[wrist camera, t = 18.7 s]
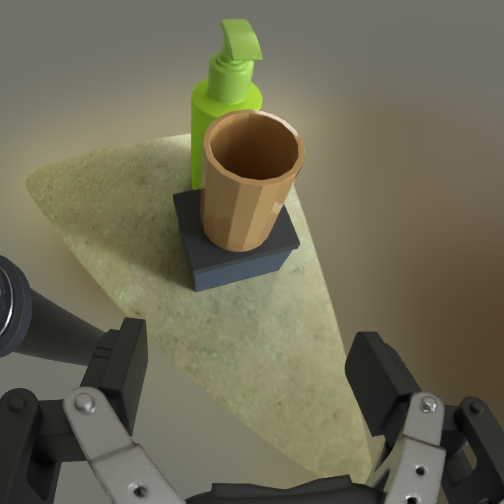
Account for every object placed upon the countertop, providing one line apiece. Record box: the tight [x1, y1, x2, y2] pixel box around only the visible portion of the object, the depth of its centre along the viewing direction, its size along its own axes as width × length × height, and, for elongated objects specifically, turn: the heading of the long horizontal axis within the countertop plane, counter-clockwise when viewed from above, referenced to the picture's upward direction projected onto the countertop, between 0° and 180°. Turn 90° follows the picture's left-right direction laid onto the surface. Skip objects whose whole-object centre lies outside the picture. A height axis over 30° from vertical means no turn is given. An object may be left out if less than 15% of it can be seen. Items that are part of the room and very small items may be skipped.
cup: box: [200, 109, 304, 252], centre depth 23 cm, size 6×6×10 cm
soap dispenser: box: [191, 19, 263, 190], centre depth 27 cm, size 6×7×20 cm
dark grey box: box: [173, 189, 300, 292], centre depth 30 cm, size 9×7×7 cm
